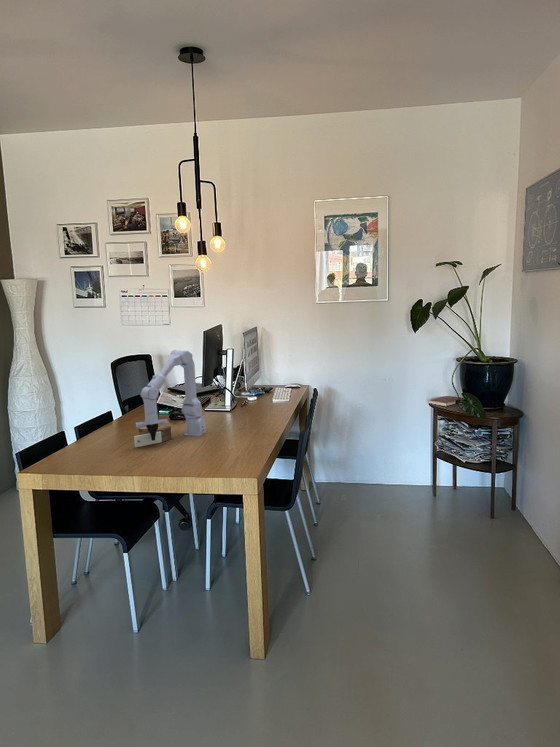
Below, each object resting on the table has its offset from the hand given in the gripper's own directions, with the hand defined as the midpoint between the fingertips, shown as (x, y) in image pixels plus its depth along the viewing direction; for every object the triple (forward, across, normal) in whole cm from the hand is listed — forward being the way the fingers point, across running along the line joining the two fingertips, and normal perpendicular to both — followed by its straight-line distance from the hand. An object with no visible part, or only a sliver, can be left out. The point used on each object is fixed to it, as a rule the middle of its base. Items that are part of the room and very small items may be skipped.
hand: (153, 440), depth 248 cm
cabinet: (+3, -3, -12) cm, 13 cm away
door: (+3, +1, -2) cm, 4 cm away
